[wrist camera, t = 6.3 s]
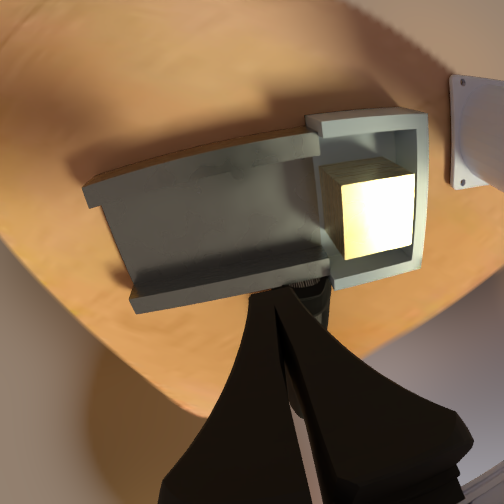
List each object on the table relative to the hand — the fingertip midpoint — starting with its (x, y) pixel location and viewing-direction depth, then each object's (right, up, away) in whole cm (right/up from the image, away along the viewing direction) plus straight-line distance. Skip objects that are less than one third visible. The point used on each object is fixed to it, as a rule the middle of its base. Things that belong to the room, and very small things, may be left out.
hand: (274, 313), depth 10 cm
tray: (+6, +6, +8) cm, 11 cm away
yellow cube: (+5, +5, +7) cm, 11 cm away
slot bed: (-3, +4, +8) cm, 9 cm away
